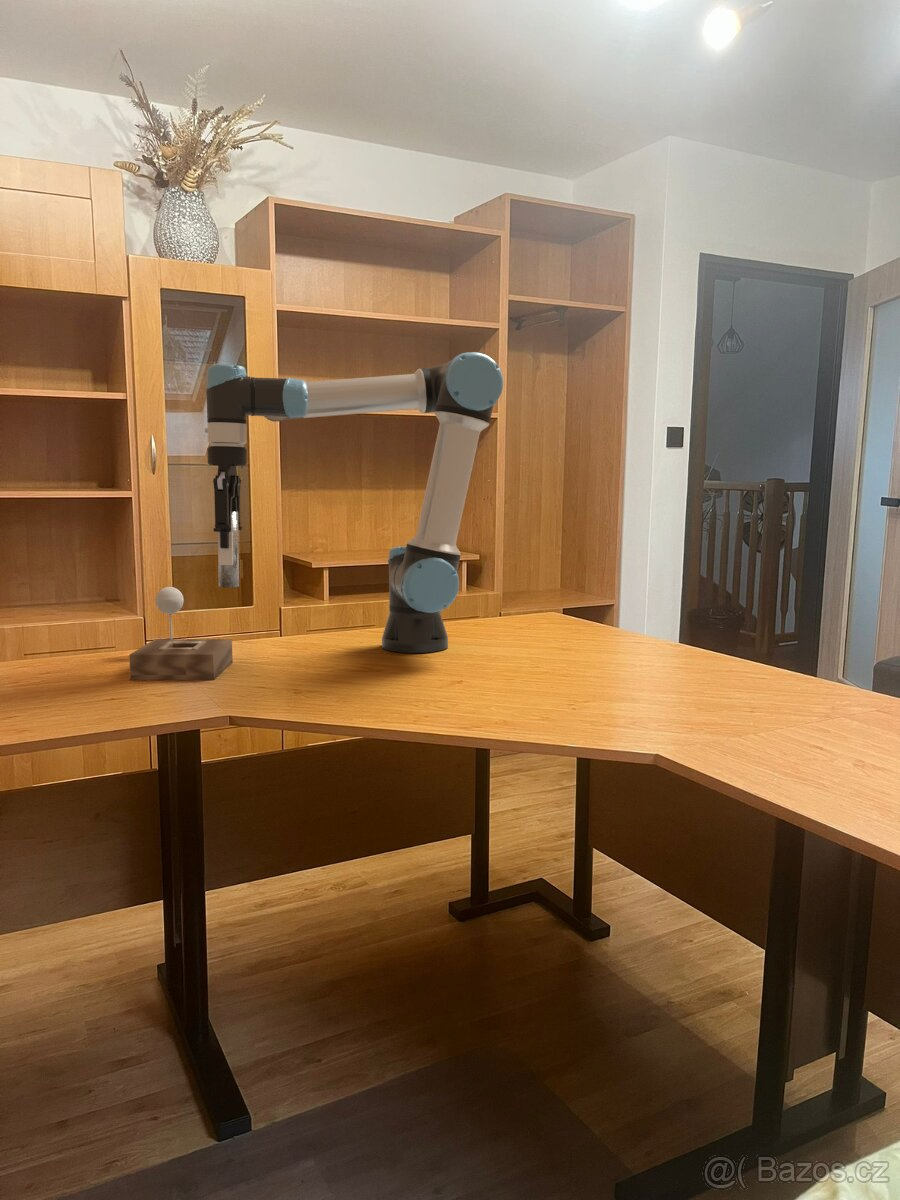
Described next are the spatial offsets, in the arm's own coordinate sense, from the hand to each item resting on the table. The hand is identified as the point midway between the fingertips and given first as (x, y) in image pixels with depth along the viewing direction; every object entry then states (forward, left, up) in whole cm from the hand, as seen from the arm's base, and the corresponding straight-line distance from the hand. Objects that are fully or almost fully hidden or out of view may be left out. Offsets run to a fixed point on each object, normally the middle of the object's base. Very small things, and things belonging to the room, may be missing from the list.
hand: (228, 563), depth 181 cm
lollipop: (+16, -13, -22) cm, 30 cm away
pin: (0, 0, -5) cm, 5 cm away
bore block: (+9, +3, -21) cm, 23 cm away
